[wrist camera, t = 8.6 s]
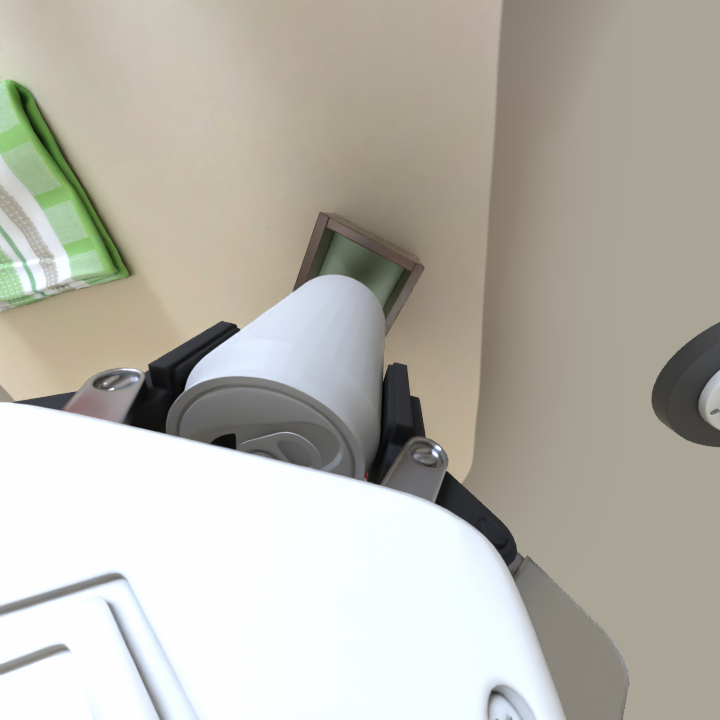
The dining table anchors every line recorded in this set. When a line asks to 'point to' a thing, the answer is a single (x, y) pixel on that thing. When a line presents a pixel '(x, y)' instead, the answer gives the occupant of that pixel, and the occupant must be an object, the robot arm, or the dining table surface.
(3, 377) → the dining table surface
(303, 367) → the beverage can
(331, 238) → the wooden compartment box
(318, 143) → the dining table surface
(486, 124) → the dining table surface
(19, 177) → the dish towel
